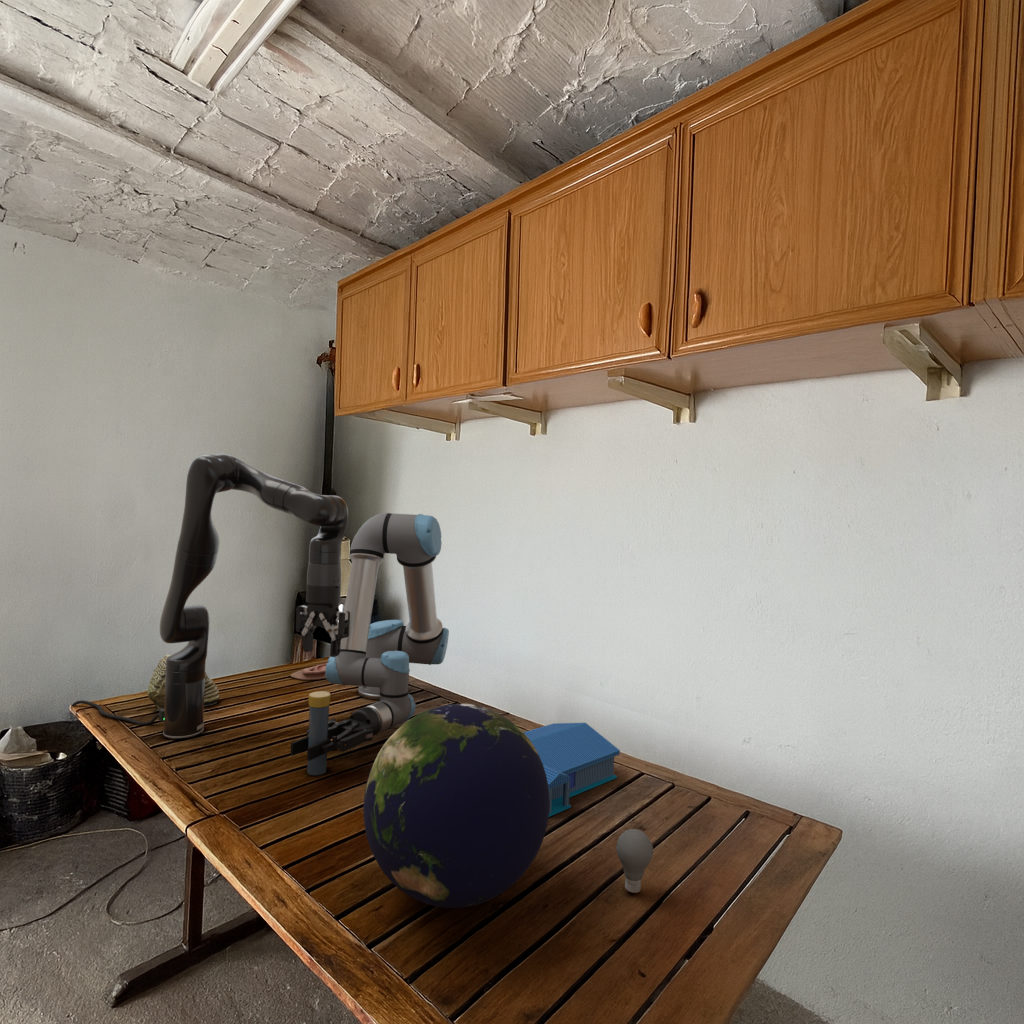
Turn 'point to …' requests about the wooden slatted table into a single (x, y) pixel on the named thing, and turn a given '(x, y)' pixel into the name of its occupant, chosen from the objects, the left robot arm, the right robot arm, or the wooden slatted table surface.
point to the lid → (319, 699)
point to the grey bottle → (318, 738)
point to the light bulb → (634, 857)
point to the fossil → (158, 687)
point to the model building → (572, 760)
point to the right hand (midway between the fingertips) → (300, 751)
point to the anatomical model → (311, 673)
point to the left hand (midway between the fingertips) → (321, 653)
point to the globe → (456, 806)
